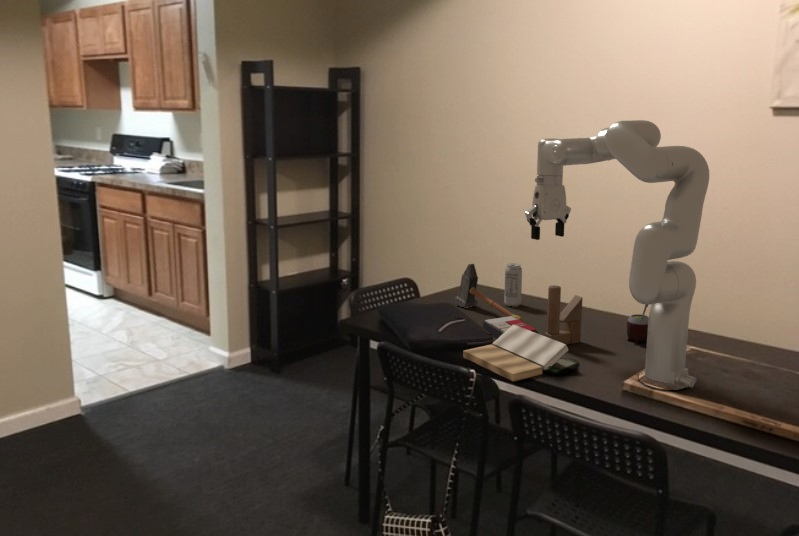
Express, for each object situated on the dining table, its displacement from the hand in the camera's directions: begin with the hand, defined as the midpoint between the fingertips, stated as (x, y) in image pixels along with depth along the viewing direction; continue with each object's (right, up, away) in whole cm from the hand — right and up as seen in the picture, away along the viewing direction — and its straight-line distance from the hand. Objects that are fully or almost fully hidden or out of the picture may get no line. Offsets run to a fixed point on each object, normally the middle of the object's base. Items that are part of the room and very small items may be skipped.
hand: (547, 237), depth 213 cm
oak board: (-17, -36, -18) cm, 44 cm away
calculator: (-10, -31, +9) cm, 34 cm away
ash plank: (-8, -32, -13) cm, 36 cm away
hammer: (-14, -25, +32) cm, 43 cm away
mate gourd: (+28, -32, 0) cm, 42 cm away
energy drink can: (-4, -23, +42) cm, 48 cm away
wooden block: (+4, -32, 0) cm, 32 cm away
